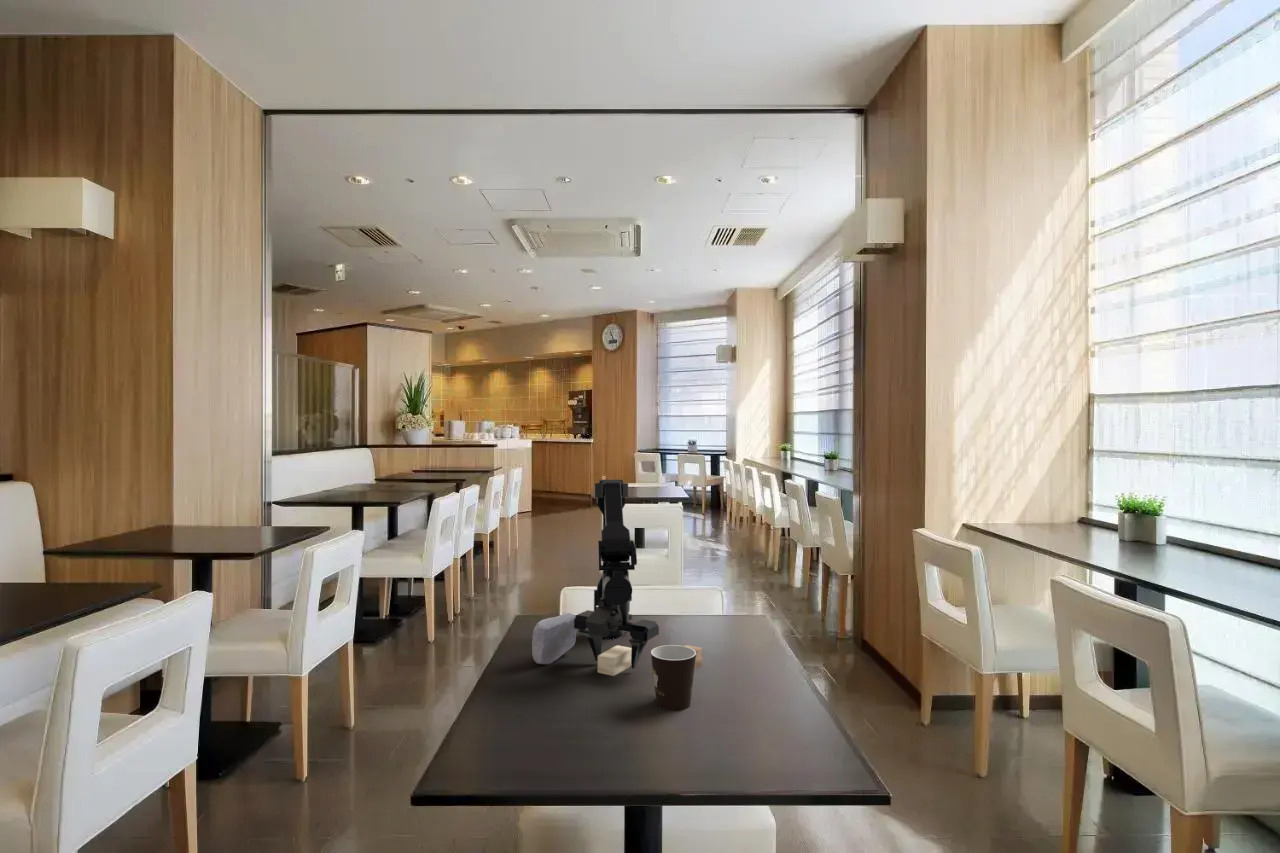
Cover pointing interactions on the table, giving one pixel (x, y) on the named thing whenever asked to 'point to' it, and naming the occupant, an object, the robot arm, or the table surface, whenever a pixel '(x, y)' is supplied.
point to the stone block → (553, 638)
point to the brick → (697, 656)
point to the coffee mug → (673, 676)
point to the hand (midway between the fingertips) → (615, 664)
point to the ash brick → (614, 660)
